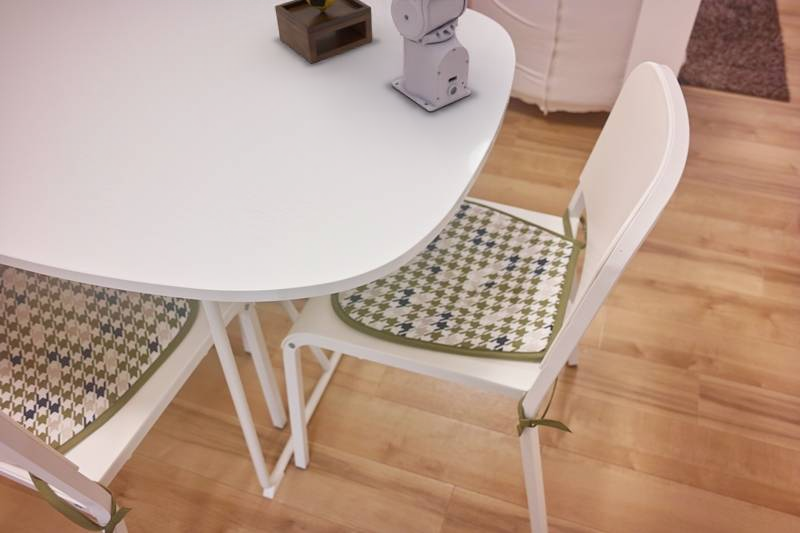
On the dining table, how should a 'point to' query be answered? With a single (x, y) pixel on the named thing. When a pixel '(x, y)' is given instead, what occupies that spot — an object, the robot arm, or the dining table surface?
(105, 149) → the dining table surface
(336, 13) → the walnut box
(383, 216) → the dining table surface
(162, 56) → the dining table surface
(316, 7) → the lemon
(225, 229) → the dining table surface
